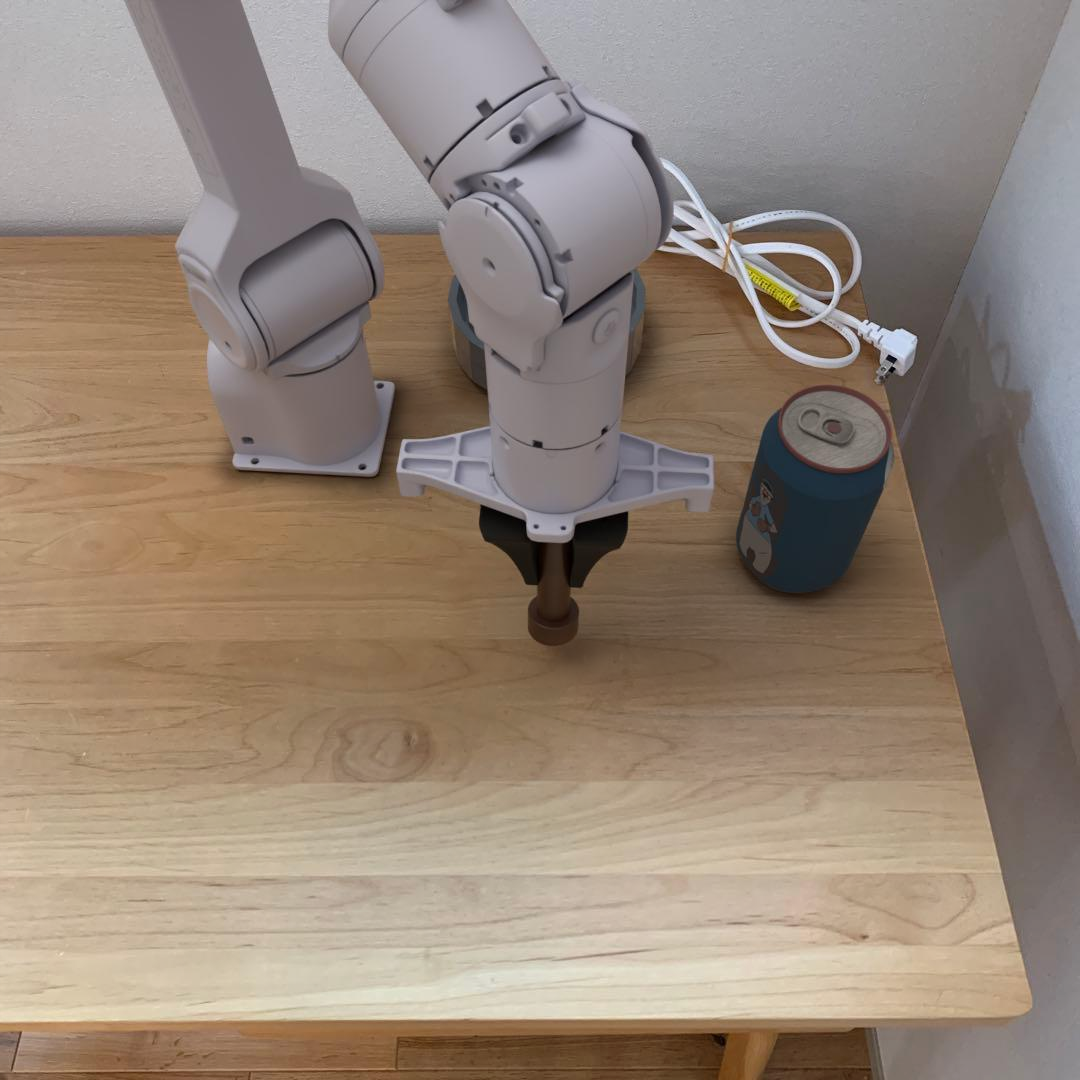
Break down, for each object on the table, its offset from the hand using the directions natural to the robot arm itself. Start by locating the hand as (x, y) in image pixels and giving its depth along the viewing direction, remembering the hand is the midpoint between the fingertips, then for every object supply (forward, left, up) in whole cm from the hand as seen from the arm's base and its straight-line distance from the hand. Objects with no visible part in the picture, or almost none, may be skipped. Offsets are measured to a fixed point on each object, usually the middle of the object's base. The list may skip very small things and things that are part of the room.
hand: (554, 570), depth 55 cm
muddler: (0, -1, -4) cm, 4 cm away
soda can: (+14, +6, -6) cm, 16 cm away
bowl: (-2, +23, -6) cm, 24 cm away
